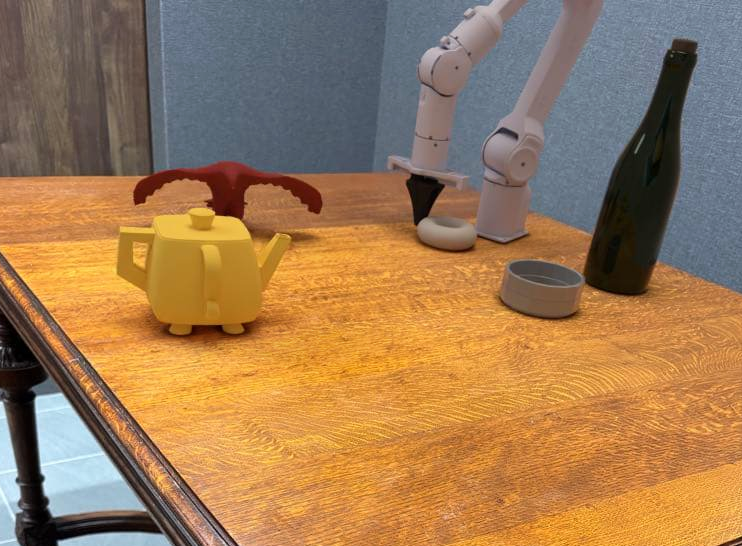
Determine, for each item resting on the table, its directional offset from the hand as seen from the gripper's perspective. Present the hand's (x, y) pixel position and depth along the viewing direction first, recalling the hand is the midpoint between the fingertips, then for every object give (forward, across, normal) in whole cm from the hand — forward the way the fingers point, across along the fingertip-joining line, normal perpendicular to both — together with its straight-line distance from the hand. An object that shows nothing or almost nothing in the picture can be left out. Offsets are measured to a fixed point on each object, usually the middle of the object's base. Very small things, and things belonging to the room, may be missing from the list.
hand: (419, 224), depth 136 cm
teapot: (+2, +3, -53) cm, 53 cm away
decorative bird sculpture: (+2, -19, -26) cm, 32 cm away
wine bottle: (+2, +33, +6) cm, 34 cm away
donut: (+2, +6, 0) cm, 6 cm away
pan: (+1, +29, -13) cm, 32 cm away
